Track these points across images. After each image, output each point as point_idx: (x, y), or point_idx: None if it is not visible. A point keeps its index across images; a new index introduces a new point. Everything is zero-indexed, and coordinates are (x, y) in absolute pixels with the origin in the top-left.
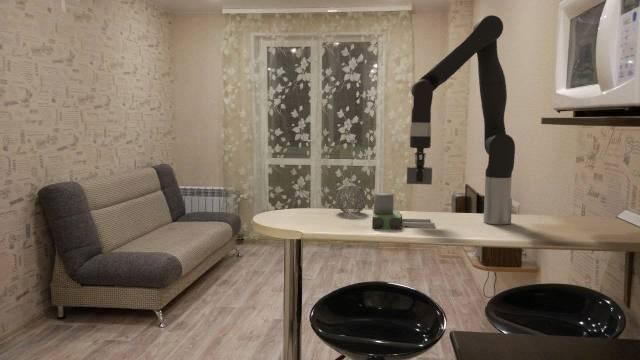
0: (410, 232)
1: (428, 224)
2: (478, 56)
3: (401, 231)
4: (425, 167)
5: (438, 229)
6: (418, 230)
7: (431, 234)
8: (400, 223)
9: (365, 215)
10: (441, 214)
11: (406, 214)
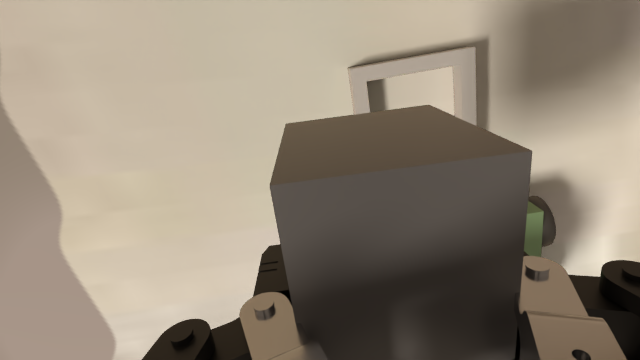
0: (583, 144)
1: (473, 78)
2: None
3: (565, 181)
4: (402, 271)
5: (506, 23)
6: (539, 115)
7: (625, 49)
8: (540, 200)
9: None
10: (54, 32)
11: (150, 213)
